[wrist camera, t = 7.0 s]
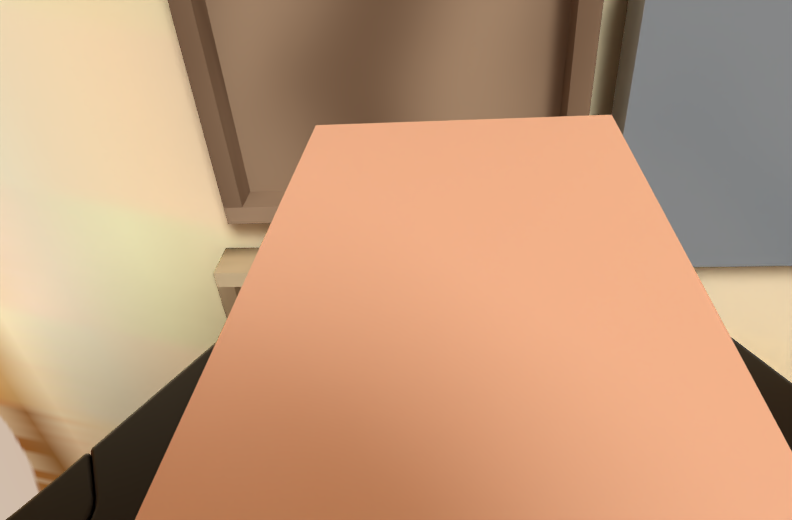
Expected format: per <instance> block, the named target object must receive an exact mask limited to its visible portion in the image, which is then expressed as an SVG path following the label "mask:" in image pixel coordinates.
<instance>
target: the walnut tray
mask: <svg viewBox="0 0 792 520" xmlns="http://www.w3.org/2000/svg"><path fill="white" fill-rule="evenodd" d="M603 2H604V0H168V3H169V7H170V11H171V14H172V18H173V22H174V25H175V29H176V33H177V37H178V40H179V44H180V48H181V51H182V55H183V59H184V62H185V66H186V70H187V73H188V77H189V81H190V85H191V88H192V92H193V96H194V99H195V103H196V107H197V110H198V114H199V118H200V122H201V125H202V129H203V133H204V136H205V140H206V144H207V147H208V151H209V155H210V159H211V162H212V166H213V170H214V173H215V177H216V181H217V184H218V188H219V192H220V195H221V199H222V203H223V207H224V210H225V214H226V218H227V221H228V224H246V223H271V222H272V220H273V218H274V215H275V213H276V211H277V209H278V207H279V204H280V202H281V200H282V198H283V196H284V194H285V191H286V189H287V187H288V185H289V183H290V180H291V178H292V176H293V174H294V172H295V170H296V167H297V165H298V163H299V161H300V159H301V157H302V154H303V152H304V150H305V148H306V146H307V143H308V141H309V139H310V137H311V135H312V133H313V130H314V128H315V126H316V125H335V124H364V123H392V122H420V121H448V120H477V119H505V118H533V117H561V116H589V113H590V105H591V97H592V89H593V81H594V73H595V65H596V57H597V49H598V41H599V33H600V25H601V18H602V10H603Z"/></svg>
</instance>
